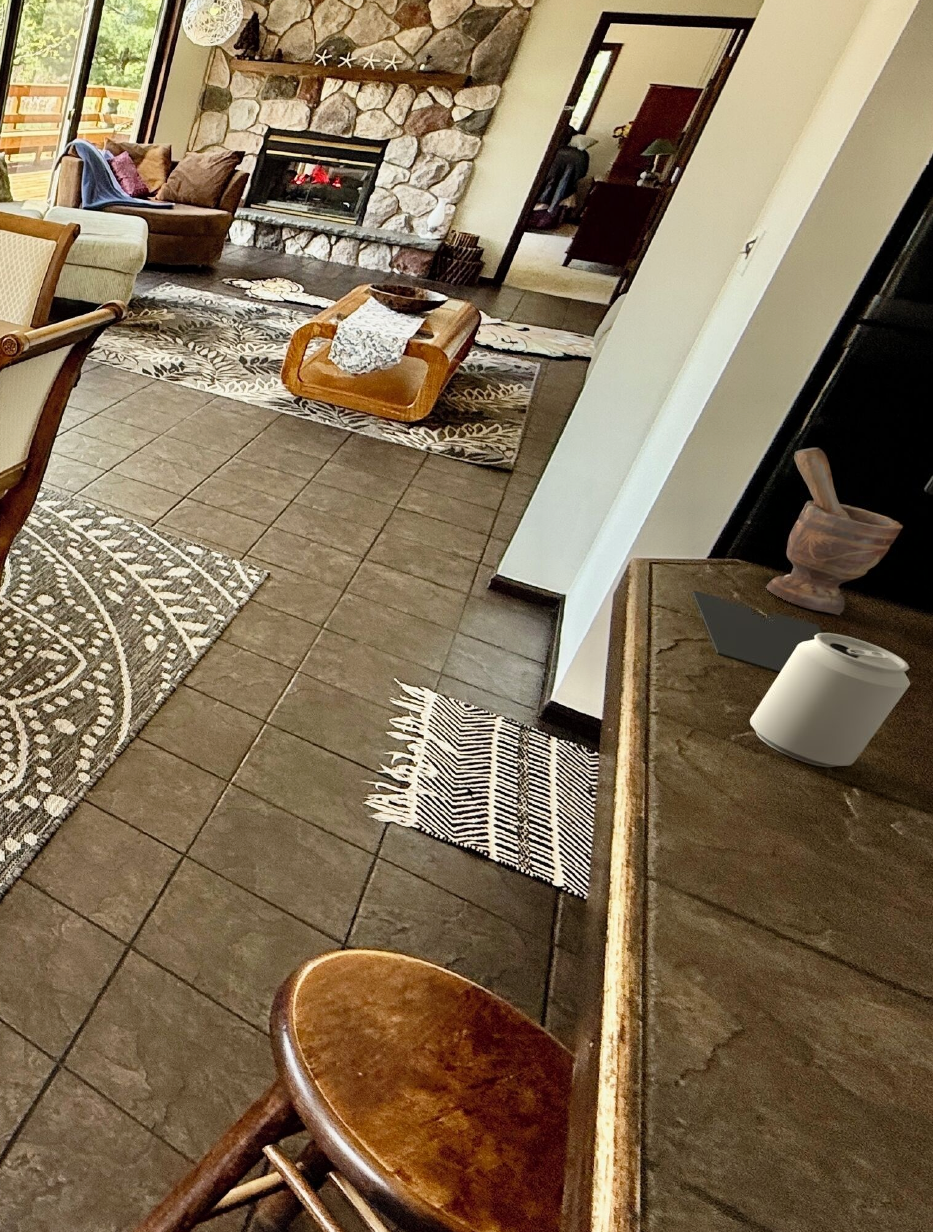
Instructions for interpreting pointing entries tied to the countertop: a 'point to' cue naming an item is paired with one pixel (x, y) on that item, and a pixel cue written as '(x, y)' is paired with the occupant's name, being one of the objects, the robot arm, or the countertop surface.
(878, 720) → the can
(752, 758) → the countertop surface
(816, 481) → the mortar and pestle
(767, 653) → the mat
